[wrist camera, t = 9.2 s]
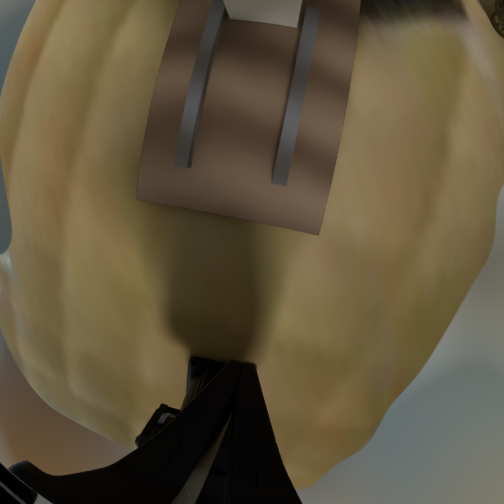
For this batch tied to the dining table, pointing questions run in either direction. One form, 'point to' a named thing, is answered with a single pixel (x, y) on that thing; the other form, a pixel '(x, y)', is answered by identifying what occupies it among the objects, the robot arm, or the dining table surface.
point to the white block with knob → (265, 11)
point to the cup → (499, 17)
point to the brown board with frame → (250, 113)
